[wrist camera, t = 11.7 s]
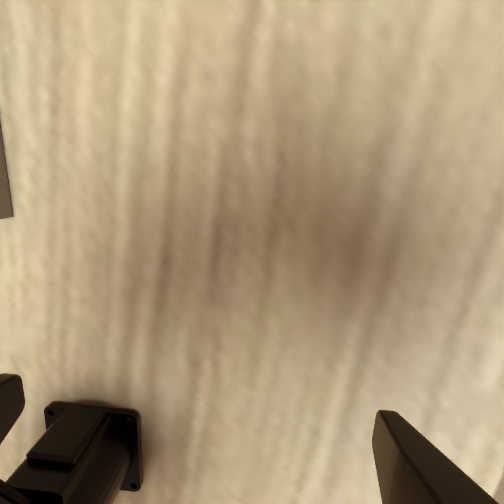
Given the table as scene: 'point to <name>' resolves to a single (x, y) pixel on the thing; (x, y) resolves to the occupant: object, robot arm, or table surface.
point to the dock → (4, 186)
